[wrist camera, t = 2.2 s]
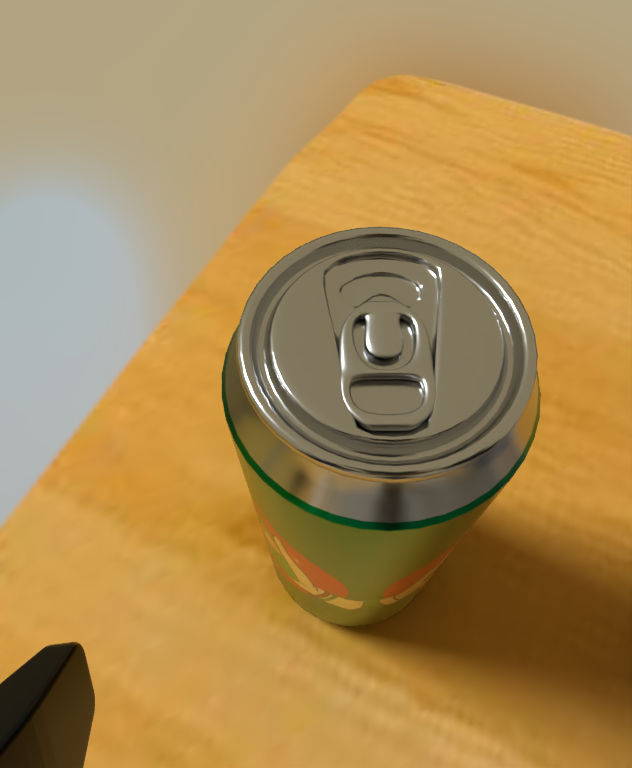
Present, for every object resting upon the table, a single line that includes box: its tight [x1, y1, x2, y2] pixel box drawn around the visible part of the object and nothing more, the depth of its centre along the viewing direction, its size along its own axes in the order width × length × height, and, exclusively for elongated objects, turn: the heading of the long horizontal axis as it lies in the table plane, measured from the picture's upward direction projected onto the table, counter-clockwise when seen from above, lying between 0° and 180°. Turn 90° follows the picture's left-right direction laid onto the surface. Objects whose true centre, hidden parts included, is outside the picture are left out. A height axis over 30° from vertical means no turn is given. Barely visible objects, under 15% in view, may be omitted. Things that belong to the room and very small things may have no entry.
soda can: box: [222, 227, 541, 626], centre depth 13 cm, size 5×5×12 cm
